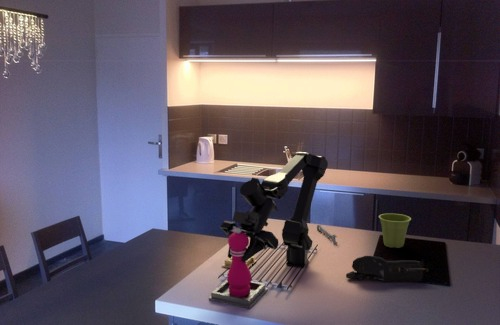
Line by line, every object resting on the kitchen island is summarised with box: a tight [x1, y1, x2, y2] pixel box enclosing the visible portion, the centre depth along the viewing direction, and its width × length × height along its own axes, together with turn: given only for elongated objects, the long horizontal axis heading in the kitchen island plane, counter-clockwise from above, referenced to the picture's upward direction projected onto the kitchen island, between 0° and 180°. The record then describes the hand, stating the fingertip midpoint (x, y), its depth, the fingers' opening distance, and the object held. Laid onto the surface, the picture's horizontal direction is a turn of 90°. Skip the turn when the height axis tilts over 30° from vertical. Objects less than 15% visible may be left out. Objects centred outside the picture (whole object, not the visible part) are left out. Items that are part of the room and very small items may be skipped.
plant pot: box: [378, 213, 412, 249], centre depth 173 cm, size 12×12×11 cm
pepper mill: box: [226, 226, 253, 297], centre depth 131 cm, size 7×7×20 cm
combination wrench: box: [316, 224, 338, 245], centre depth 184 cm, size 4×1×20 cm
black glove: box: [345, 255, 430, 283], centre depth 143 cm, size 7×25×8 cm, turn 93°
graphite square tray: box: [208, 279, 269, 310], centre depth 132 cm, size 13×13×2 cm
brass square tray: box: [221, 256, 258, 269], centre depth 155 cm, size 9×9×2 cm
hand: (235, 259), depth 130 cm, fingers closed on pepper mill, 5 cm apart
